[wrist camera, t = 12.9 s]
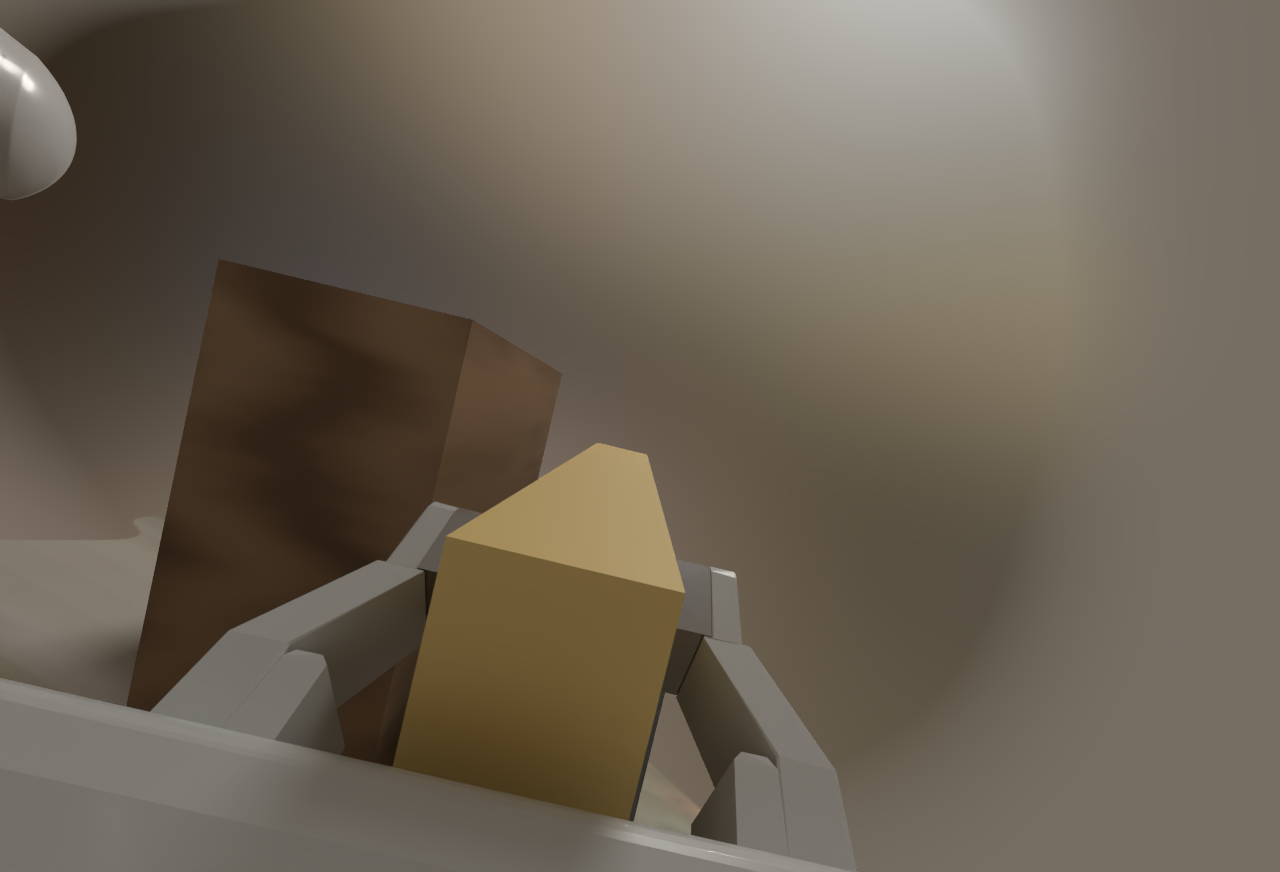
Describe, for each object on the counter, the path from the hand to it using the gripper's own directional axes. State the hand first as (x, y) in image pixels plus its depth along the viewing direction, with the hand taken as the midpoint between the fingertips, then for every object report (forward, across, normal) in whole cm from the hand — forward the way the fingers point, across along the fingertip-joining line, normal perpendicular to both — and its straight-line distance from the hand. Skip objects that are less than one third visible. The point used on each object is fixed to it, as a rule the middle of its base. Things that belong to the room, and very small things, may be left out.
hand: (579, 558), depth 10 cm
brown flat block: (-1, +8, +24) cm, 26 cm away
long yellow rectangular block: (+6, 0, +6) cm, 8 cm away
